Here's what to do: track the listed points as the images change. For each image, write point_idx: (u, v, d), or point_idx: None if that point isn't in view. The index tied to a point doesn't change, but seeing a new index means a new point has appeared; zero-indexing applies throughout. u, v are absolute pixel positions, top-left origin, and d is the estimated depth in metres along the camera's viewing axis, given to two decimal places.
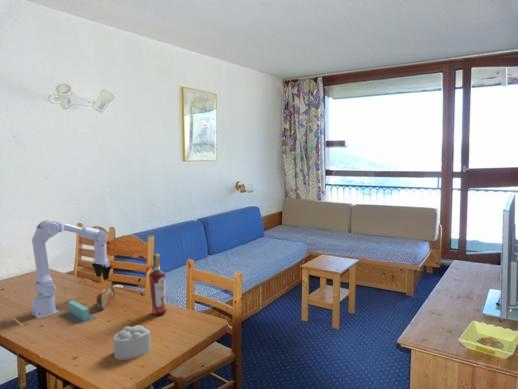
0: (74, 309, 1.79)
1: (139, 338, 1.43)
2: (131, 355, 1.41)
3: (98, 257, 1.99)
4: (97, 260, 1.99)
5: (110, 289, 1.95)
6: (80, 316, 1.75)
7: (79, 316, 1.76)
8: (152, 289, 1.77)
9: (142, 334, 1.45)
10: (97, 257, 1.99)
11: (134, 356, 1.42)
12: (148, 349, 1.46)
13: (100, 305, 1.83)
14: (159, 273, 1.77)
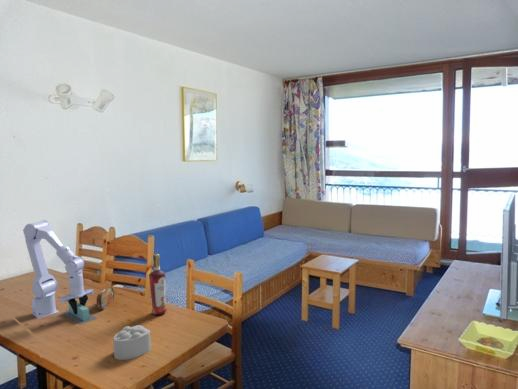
0: None
1: (139, 338, 1.43)
2: (131, 355, 1.41)
3: None
4: None
5: (110, 289, 1.95)
6: (80, 316, 1.75)
7: (79, 316, 1.76)
8: (152, 289, 1.77)
9: (142, 334, 1.45)
10: None
11: (134, 356, 1.42)
12: (148, 349, 1.46)
13: (100, 305, 1.83)
14: (159, 273, 1.77)
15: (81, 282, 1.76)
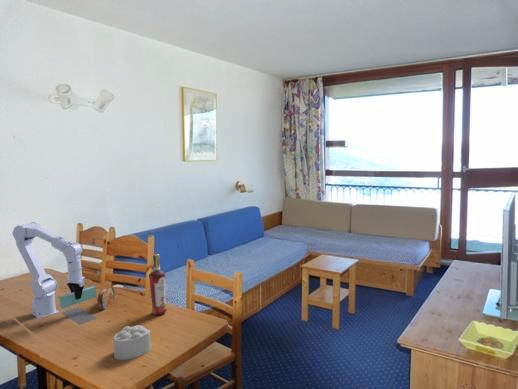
0: None
1: (139, 338, 1.43)
2: (131, 355, 1.41)
3: (71, 275, 1.76)
4: (70, 278, 1.76)
5: (110, 289, 1.95)
6: (89, 296, 1.83)
7: (87, 298, 1.83)
8: (152, 289, 1.77)
9: (142, 334, 1.45)
10: (70, 275, 1.76)
11: (134, 356, 1.42)
12: (148, 349, 1.46)
13: (101, 305, 1.83)
14: (159, 273, 1.77)
15: (79, 267, 1.78)
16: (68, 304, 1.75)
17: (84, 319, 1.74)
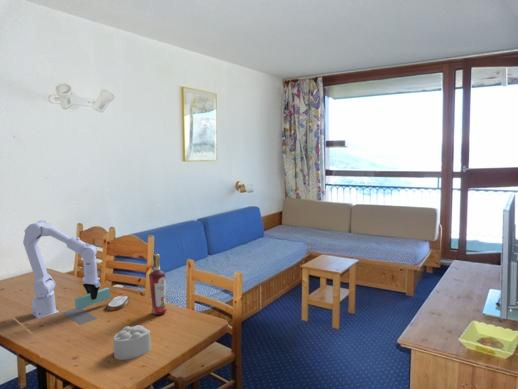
0: (91, 299, 1.84)
1: (139, 338, 1.43)
2: (131, 355, 1.41)
3: (88, 276, 1.81)
4: (87, 279, 1.82)
5: None
6: (104, 298, 1.88)
7: (101, 299, 1.88)
8: (152, 289, 1.77)
9: (142, 334, 1.45)
10: (86, 276, 1.81)
11: (134, 356, 1.42)
12: (148, 349, 1.46)
13: (111, 310, 1.84)
14: (159, 273, 1.77)
15: (96, 268, 1.84)
16: (83, 305, 1.81)
17: (84, 319, 1.74)
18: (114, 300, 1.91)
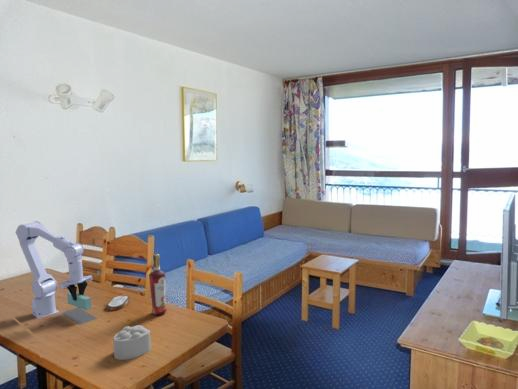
0: None
1: (139, 338, 1.43)
2: (131, 355, 1.41)
3: None
4: None
5: None
6: (81, 306, 1.74)
7: (80, 306, 1.75)
8: (152, 289, 1.77)
9: (142, 334, 1.45)
10: None
11: (134, 356, 1.42)
12: (148, 349, 1.46)
13: (111, 310, 1.84)
14: (159, 273, 1.77)
15: (80, 268, 1.76)
16: (70, 302, 1.80)
17: (84, 319, 1.74)
18: (114, 300, 1.91)
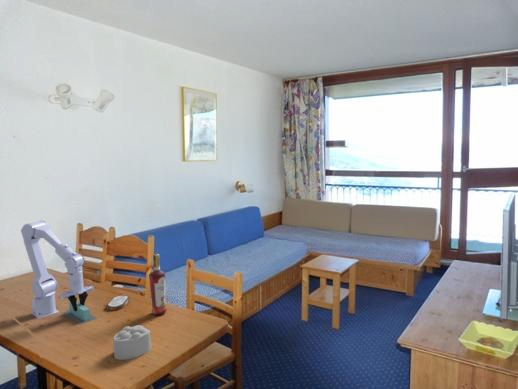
0: None
1: (139, 338, 1.43)
2: (131, 355, 1.41)
3: None
4: None
5: None
6: (81, 316, 1.74)
7: (80, 316, 1.75)
8: (152, 289, 1.77)
9: (142, 334, 1.45)
10: None
11: (134, 356, 1.42)
12: (148, 349, 1.46)
13: (111, 310, 1.84)
14: (159, 273, 1.77)
15: (81, 279, 1.76)
16: (71, 311, 1.81)
17: None
18: (114, 300, 1.91)
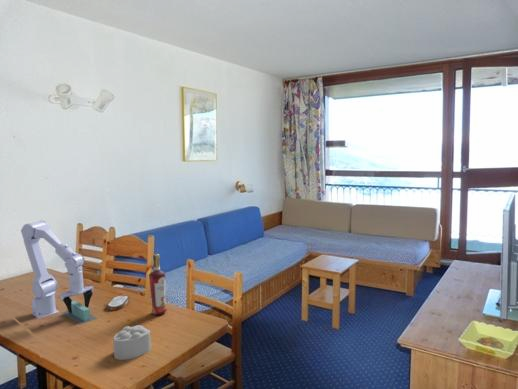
0: (75, 310, 1.78)
1: (139, 338, 1.43)
2: (131, 355, 1.41)
3: None
4: None
5: None
6: (81, 316, 1.74)
7: (80, 316, 1.75)
8: (152, 289, 1.77)
9: (142, 334, 1.45)
10: None
11: (134, 356, 1.42)
12: (148, 349, 1.46)
13: (111, 310, 1.84)
14: (159, 273, 1.77)
15: (81, 279, 1.76)
16: None
17: None
18: (114, 300, 1.91)
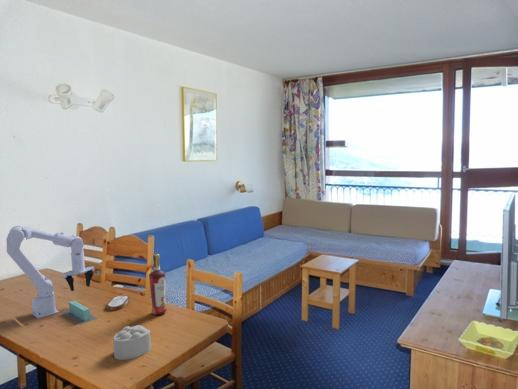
0: (75, 310, 1.78)
1: (139, 338, 1.43)
2: (131, 355, 1.41)
3: None
4: None
5: None
6: (81, 316, 1.74)
7: (80, 316, 1.75)
8: (152, 289, 1.77)
9: (142, 334, 1.45)
10: None
11: (134, 356, 1.42)
12: (148, 349, 1.46)
13: (111, 310, 1.84)
14: (159, 273, 1.77)
15: None
16: (71, 311, 1.81)
17: None
18: (114, 300, 1.91)
